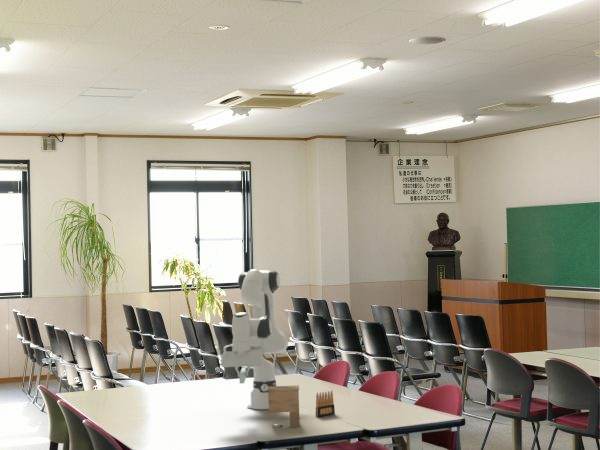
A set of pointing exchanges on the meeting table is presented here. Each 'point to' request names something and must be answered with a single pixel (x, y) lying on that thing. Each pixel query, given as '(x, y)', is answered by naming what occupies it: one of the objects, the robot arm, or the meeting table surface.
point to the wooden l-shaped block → (285, 402)
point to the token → (277, 425)
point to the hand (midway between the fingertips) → (242, 376)
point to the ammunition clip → (324, 405)
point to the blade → (242, 375)
